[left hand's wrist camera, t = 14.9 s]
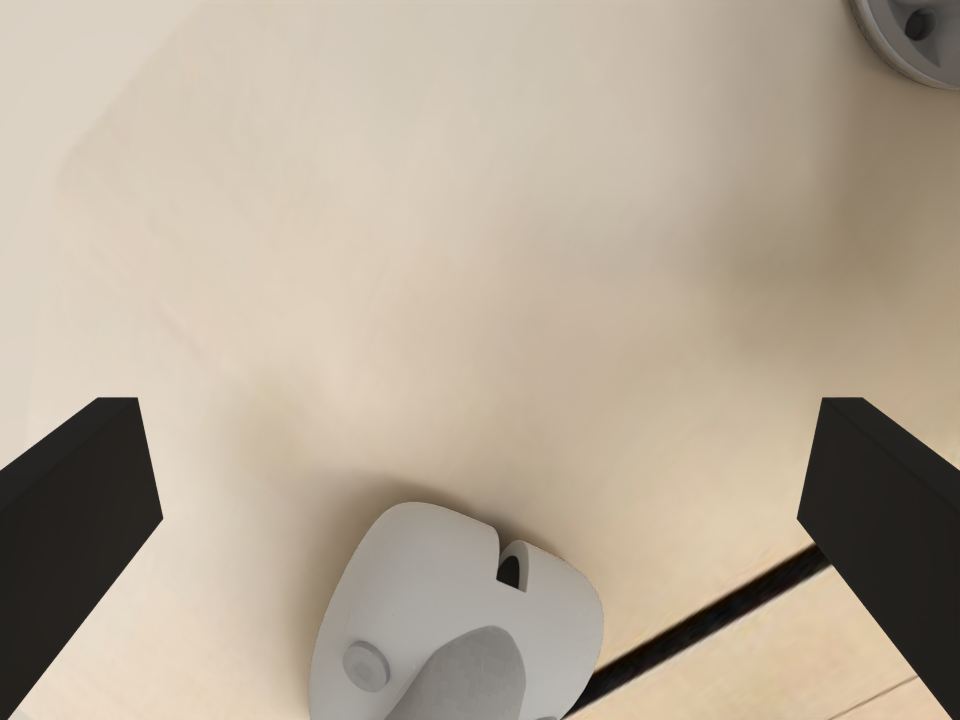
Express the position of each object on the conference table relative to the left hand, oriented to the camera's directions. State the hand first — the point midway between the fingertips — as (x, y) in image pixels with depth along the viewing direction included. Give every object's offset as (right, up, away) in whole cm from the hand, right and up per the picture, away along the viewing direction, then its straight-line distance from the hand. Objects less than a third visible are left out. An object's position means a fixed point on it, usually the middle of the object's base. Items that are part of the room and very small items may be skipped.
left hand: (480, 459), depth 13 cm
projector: (-3, -17, +34) cm, 38 cm away
